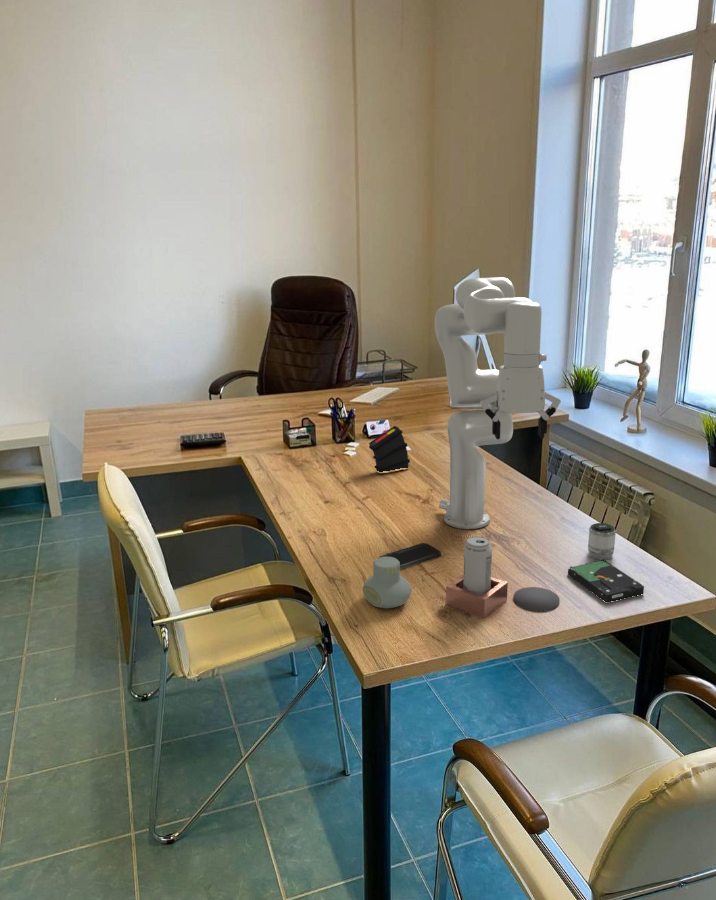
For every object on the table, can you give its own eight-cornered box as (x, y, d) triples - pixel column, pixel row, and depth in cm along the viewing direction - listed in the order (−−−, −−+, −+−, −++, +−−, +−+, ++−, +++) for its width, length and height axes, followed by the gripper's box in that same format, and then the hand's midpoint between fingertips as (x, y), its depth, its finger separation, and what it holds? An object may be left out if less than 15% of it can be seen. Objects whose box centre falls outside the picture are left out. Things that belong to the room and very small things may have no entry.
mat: (505, 601, 171) (505, 599, 171) (527, 584, 178) (527, 582, 178) (546, 616, 164) (546, 614, 164) (567, 597, 172) (567, 595, 172)
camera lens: (618, 559, 189) (620, 530, 187) (594, 561, 188) (596, 532, 186) (606, 548, 195) (608, 519, 193) (583, 550, 194) (585, 522, 192)
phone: (443, 553, 193) (394, 568, 186) (443, 557, 193) (394, 572, 186) (424, 542, 199) (376, 556, 192) (424, 546, 200) (376, 560, 192)
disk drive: (644, 597, 173) (602, 568, 186) (645, 586, 172) (603, 558, 185) (606, 606, 169) (566, 576, 182) (607, 595, 168) (567, 565, 181)
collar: (445, 604, 170) (446, 586, 169) (469, 587, 177) (470, 569, 176) (484, 618, 164) (484, 599, 163) (507, 600, 171) (507, 582, 170)
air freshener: (358, 598, 174) (356, 558, 171) (386, 587, 179) (386, 548, 175) (387, 618, 166) (386, 576, 162) (416, 606, 170) (416, 565, 167)
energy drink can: (465, 594, 174) (466, 534, 170) (491, 597, 173) (493, 536, 168) (460, 607, 169) (462, 545, 164) (488, 610, 167) (490, 548, 163)
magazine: (418, 463, 255) (400, 427, 248) (386, 485, 252) (367, 449, 245) (412, 460, 258) (395, 424, 251) (381, 482, 255) (362, 446, 248)
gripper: (557, 356, 168) (554, 431, 173) (478, 358, 168) (477, 433, 173) (566, 362, 161) (562, 440, 166) (483, 364, 161) (482, 442, 166)
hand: (519, 437), depth 169 cm, fingers open, 9 cm apart
